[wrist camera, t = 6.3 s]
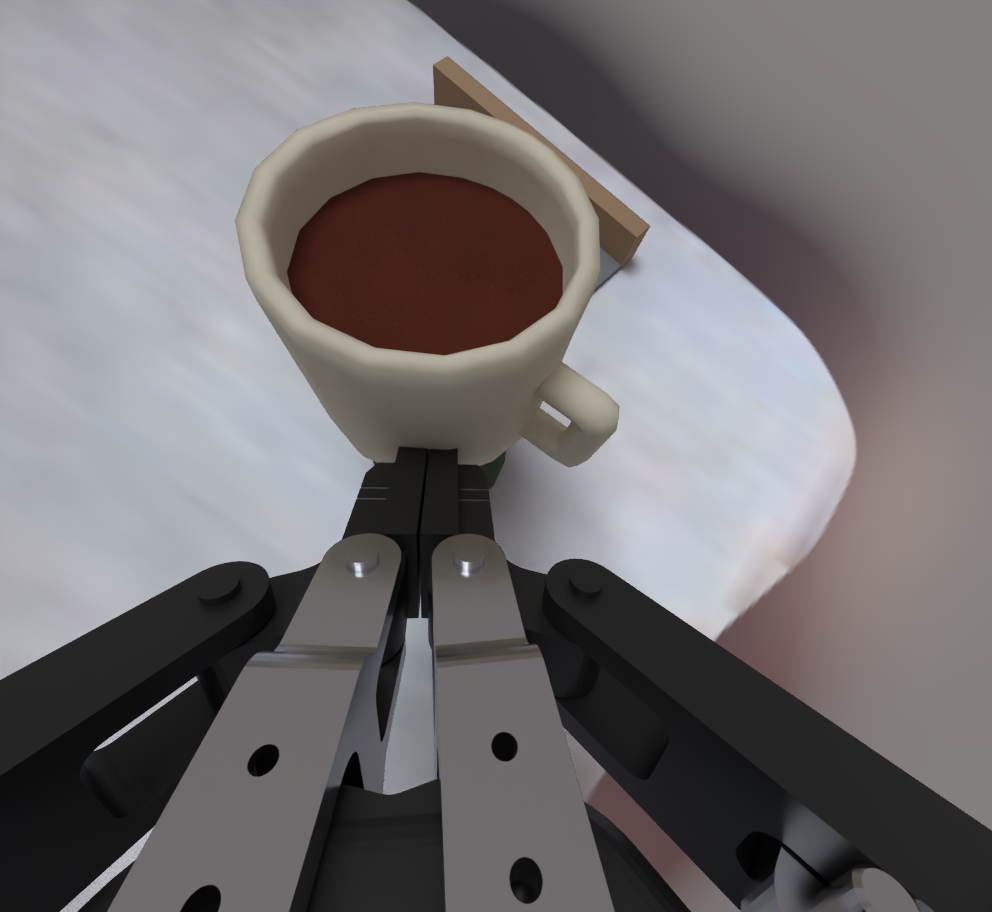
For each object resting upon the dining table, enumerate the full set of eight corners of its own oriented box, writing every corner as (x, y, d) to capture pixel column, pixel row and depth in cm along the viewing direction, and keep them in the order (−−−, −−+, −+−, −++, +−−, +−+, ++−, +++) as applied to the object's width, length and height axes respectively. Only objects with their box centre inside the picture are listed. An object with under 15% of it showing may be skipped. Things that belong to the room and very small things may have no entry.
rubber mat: (489, 383, 21) (494, 361, 19) (293, 195, 23) (276, 154, 21) (631, 257, 25) (650, 225, 22) (448, 100, 26) (447, 56, 24)
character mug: (569, 464, 21) (746, 262, 8) (484, 581, 18) (558, 536, 6) (403, 343, 22) (350, 18, 10) (303, 438, 19) (66, 162, 7)
